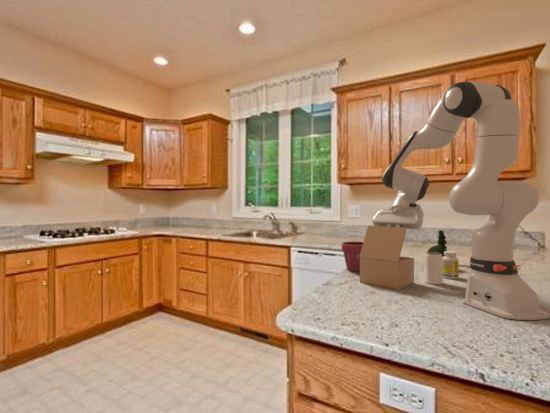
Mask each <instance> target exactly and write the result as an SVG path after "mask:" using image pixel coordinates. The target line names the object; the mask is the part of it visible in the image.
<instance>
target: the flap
mask: <svg viewBox="0 0 550 413" xmlns="http://www.w3.org/2000/svg"><path fill="white" fill-rule="evenodd" d="M406 233H407V228H399V227H381V226H374V225H367V229H366V232H365V235H364V238H363V241H362V242H363V245H362V249H361V252H360V256H359V257H362V258H369V259H376V260H383V261H390V262H399V258H400V256H401V253H402V249H403V245H404V241H405V237H406Z"/></svg>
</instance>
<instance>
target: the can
mask: <svg viewBox="0 0 550 413" xmlns="http://www.w3.org/2000/svg"><path fill="white" fill-rule="evenodd" d="M425 253H426V254H425V256H424V282H425V284H429V285H434V286H437V285H440V286H441V285H442V284H443V282H444V277H443V257H442V253H438V252H428V251H427V252H425Z"/></svg>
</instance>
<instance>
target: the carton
mask: <svg viewBox="0 0 550 413" xmlns="http://www.w3.org/2000/svg"><path fill="white" fill-rule="evenodd" d="M359 282H360V283H363V284H368V285H373V286H377V287H383V288H388V289H393V290H401V289H403V288H406V287H408V286H410V285H413V284H415V258H414V257H409V256H401V255H400V258H399V262H390V261H383V260H376V259H369V258H362V257H360V271H359Z"/></svg>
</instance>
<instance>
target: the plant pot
mask: <svg viewBox="0 0 550 413" xmlns="http://www.w3.org/2000/svg"><path fill="white" fill-rule="evenodd" d="M363 242H364V241H345V242H342V243H341V252H343V256H344V262H345V264H346V266H345V267H346V270H347V269H348V271H350V272H360V257H359V256H360V252H361V249H362V245H363Z"/></svg>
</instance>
